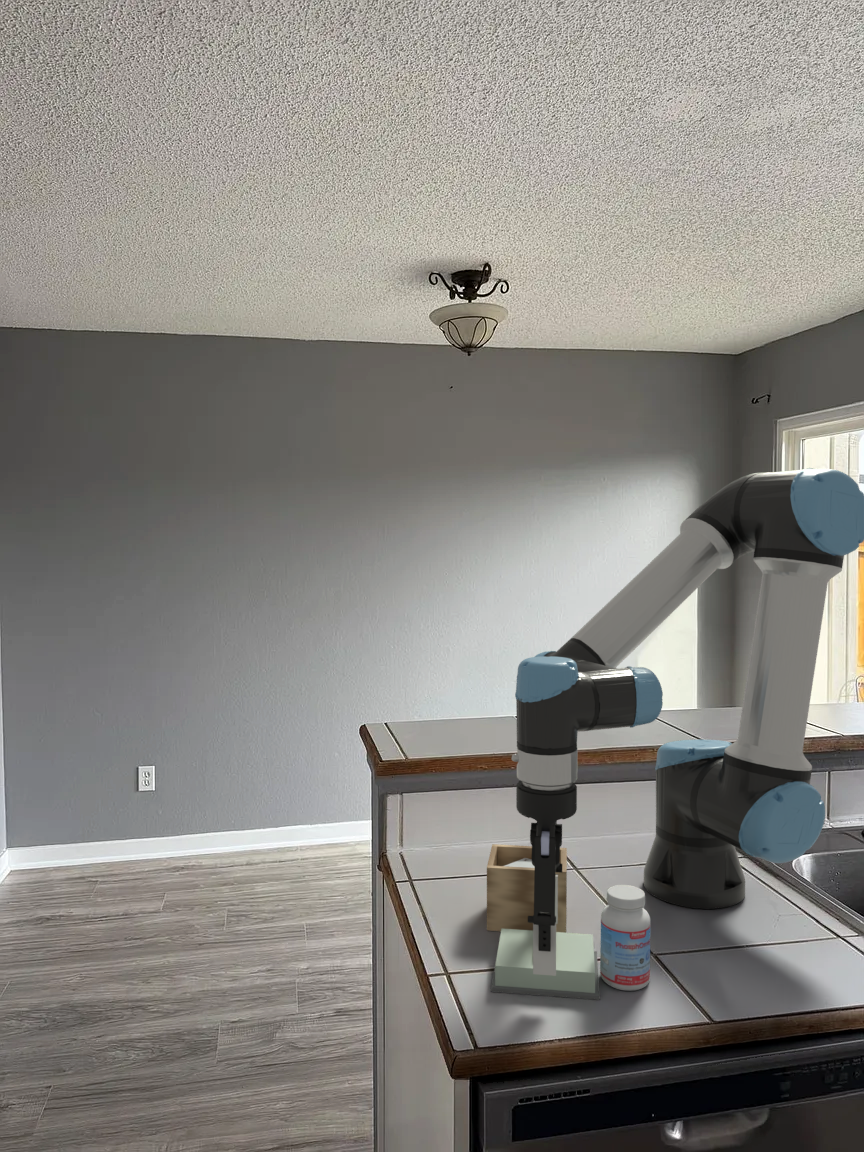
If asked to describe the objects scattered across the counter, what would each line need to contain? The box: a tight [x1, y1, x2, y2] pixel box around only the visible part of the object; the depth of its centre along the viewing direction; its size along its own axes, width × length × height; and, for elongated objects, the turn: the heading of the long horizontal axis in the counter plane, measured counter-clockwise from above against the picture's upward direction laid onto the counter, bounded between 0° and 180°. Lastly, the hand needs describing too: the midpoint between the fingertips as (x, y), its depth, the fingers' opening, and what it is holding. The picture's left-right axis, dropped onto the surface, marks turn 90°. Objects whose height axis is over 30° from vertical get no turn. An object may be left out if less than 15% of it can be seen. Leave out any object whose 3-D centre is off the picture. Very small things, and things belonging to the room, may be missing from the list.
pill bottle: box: [599, 884, 651, 992], centre depth 110 cm, size 6×6×11 cm
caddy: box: [486, 843, 568, 933], centre depth 127 cm, size 11×9×9 cm
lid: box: [494, 929, 595, 993], centre depth 112 cm, size 12×10×4 cm
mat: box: [490, 944, 601, 1001], centre depth 112 cm, size 13×11×1 cm
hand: (546, 946), depth 112 cm, fingers open, 13 cm apart
